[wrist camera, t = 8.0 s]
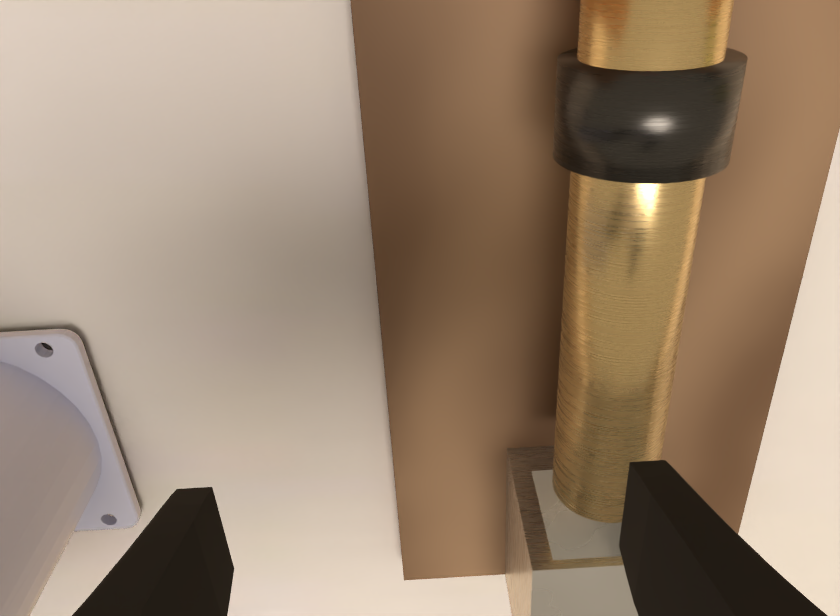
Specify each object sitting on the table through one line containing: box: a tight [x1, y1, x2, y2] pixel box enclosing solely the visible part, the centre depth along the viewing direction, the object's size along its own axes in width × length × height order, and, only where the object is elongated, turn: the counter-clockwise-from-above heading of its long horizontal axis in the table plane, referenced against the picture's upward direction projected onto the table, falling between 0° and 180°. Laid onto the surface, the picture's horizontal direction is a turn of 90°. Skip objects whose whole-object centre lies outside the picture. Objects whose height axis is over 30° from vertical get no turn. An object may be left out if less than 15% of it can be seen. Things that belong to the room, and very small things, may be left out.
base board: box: [351, 0, 840, 580], centre depth 19 cm, size 12×27×1 cm, turn 3°
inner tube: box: [552, 0, 748, 523], centre depth 16 cm, size 4×16×4 cm, turn 3°
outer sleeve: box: [505, 446, 638, 616], centre depth 22 cm, size 5×6×5 cm
